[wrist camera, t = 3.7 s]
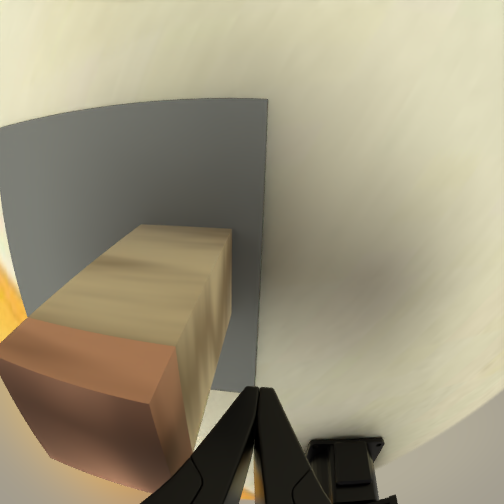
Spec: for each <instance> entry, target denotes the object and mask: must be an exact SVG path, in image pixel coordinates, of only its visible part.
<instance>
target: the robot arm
mask: <svg viewBox="0 0 504 504" xmlns="http://www.w3.org/2000/svg"><path fill="white" fill-rule="evenodd" d="M259 390H260V391H259ZM254 439H255V440H254ZM383 446H384V440H383V439H382V438H376V439H358V440H314V441H311V442H310V443H309V446H308V449H307V452H306V456H305V454H304V452H303V450H302V447H301V445H300V443H299V441H298V439H297V437H296V435H295V433H294V431H293V429H292V427H291V424H290V422H289V420H288V418H287V416H286V414H285V412H284V410H283V407H282V405H281V403H280V401H279V399H278V397H277V394H276V392H275V390H274V389H273V388H268V387H261V388H260V389H259V387H256V386H246V387H245V388H244V389H243V391H242V392H241V393H240V394H239V396H238V397H237V398H236V400H235V401H234V402H233V404H232V405H231V406H230V407H229V409H228V410H227V411H226V413H225V414H224V415H223V416H222V418H221V419H220V420H219V421H218V423H217V424H216V425H215V426H214V428H213V429H212V430H211V431H210V433H209V434H208V435H207V436H206V438H205V439H204V440H203V441H202V442H201V444H200V445H199V446H198V447H197V449H196V450H195V451H194V452H193V453H192V455H191V456H190V458H188V459H187V460H186V461H185V463H184V464H183V465H182V466H181V467H180V468H179V469H178V470H177V472H176V473H175V474H174V475H173V476H172V477H171V478H170V479H169V480H168V481H166V482H165V483H164V484H163V485H162V486H161V487H160V488H159V489H157V490H156V491H155V492H154V493H153V494H151V495H150V496H149V497H148V498H146V499H145V500H144V501H143V502H141V503H140V504H239V501H240V497H241V494H242V490H243V487H244V483H245V479H246V476H247V472H248V468H249V465H250V461H251V457H252V453H253V447H254V485H255V504H398V503H397V498H396V495H392V496H389V498H385V499H381V500H379V496H378V490H377V483H376V477H375V471H374V465H373V463H374V461H375V459H376V458H377V456H378V454H379V453H380V451H381V449H382V447H383Z"/></svg>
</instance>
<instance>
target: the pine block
mask: <svg viewBox="0 0 504 504" xmlns="http://www.w3.org/2000/svg"><path fill="white" fill-rule="evenodd" d="M231 313H232V229H225V228H207V227H188V226H167V225H145V224H141V225H139V226H138V227H137V228H135V229H134V230H133V231H131V232H130V233H129V234H127V235H126V236H125V237H124V238H122V239H121V240H120V241H118V242H117V243H116V244H114V245H113V246H112V247H111V248H109V249H108V250H107V251H105V252H104V253H103V254H102V255H100V256H99V257H98V258H97V259H95V260H94V261H93V262H92V263H90V264H89V265H88V266H87V267H86V268H84V269H83V270H82V271H81V272H79V273H78V274H77V275H76V276H75V277H73V278H72V279H71V280H70V281H69V282H68V283H66V284H65V285H64V286H63V287H62V288H60V289H59V290H58V291H57V292H56V293H55V294H53V295H52V296H51V297H50V298H49V299H48V300H47V301H45V302H44V303H43V304H42V305H41V306H40V307H39V308H38V309H36V310H35V311H34V312H33V313H32V314H31V315H30V316H29V317H28V318H27V319H25V320H24V321H23V322H22V323H21V324H20V325H19V326H18V327H17V328H16V329H15V330H14V331H13V332H12V333H10V334H9V335H8V336H7V337H6V338H5V339H4V340H3V341H2V342H1V343H0V376H1V378H2V380H3V382H4V384H5V386H6V387H7V389H8V391H9V393H10V395H11V397H12V399H13V400H14V402H15V404H16V406H17V407H18V409H19V411H20V412H21V414H22V416H23V417H24V419H25V421H26V422H27V424H28V425H29V427H30V429H31V430H32V432H33V433H34V435H35V436H36V438H37V439H38V441H39V442H40V444H41V445H42V446H43V448H44V449H45V451H46V452H47V453H48V455H49V456H50V458H52V459H54V460H57V461H59V462H61V463H63V464H66V465H68V466H71V467H73V468H76V469H78V470H81V471H83V472H86V473H89V474H91V475H94V476H97V477H100V478H103V479H105V480H108V481H111V482H114V483H117V484H121V485H124V486H127V487H131V488H134V489H138V490H141V491H145V492H149V493H154V492H155V491H156V490H157V489H159V488H160V487H161V486H162V485H163V484H164V483H165V482H166V481H168V480H169V479H170V478H171V477H172V476H173V475H174V474H175V473H176V472H177V470H178V469H179V468H180V467H181V466H182V465H183V464H184V463H185V461H186V460H187V459H188V458H190V456H191V455H192V453H193V451H194V447H195V443H196V440H197V436H198V433H199V429H200V425H201V422H202V418H203V414H204V411H205V407H206V404H207V400H208V396H209V393H210V389H211V385H212V382H213V378H214V375H215V371H216V367H217V364H218V360H219V357H220V353H221V349H222V346H223V342H224V339H225V335H226V331H227V328H228V324H229V321H230V317H231Z"/></svg>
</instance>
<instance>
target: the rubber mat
mask: <svg viewBox="0 0 504 504" xmlns="http://www.w3.org/2000/svg"><path fill="white" fill-rule="evenodd" d="M267 110H268V99H253V98H207V99H180V100H164V101H151V102H140V103H130V104H121V105H113V106H105V107H98V108H91V109H85V110H79V111H73V112H67V113H62V114H57V115H52V116H47V117H42V118H37V119H33V120H29V121H24V122H20V123H16V124H12V125H8V126H5V127H1V128H0V194H1V202H2V209H3V216H4V222H5V228H6V233H7V239H8V244H9V249H10V253H11V258H12V262H13V267H14V271H15V275H16V279H17V282H18V286H19V290H20V293H21V297H22V300H23V304H24V307H25V310H26V313H27V317H29V316H30V315H31V314H32V313H33V312H34V311H35V310H36V309H38V308H39V307H40V306H41V305H42V304H43V303H44V302H45V301H47V300H48V299H49V298H50V297H51V296H52V295H53V294H55V293H56V292H57V291H58V290H59V289H60V288H62V287H63V286H64V285H65V284H66V283H68V282H69V281H70V280H71V279H72V278H73V277H75V276H76V275H77V274H78V273H79V272H81V271H82V270H83V269H84V268H86V267H87V266H88V265H89V264H90V263H92V262H93V261H94V260H95V259H97V258H98V257H99V256H100V255H102V254H103V253H104V252H105V251H107V250H108V249H109V248H111V247H112V246H113V245H114V244H116V243H117V242H118V241H120V240H121V239H122V238H124V237H125V236H126V235H127V234H129V233H130V232H131V231H133V230H134V229H135V228H137V227H138V226H139V225H141V224H145V225H167V226H188V227H207V228H225V229H232V313H231V317H230V321H229V324H228V328H227V331H226V335H225V339H224V342H223V346H222V349H221V353H220V357H219V360H218V364H217V367H216V371H215V375H214V378H213V382H212V385H211V389H212V390H220V391H229V392H238V393H241V392H242V391H243V389H244V388H245V387H246V386H255V369H256V351H257V332H258V313H259V293H260V272H261V252H262V230H263V208H264V185H265V161H266V136H267Z"/></svg>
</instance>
